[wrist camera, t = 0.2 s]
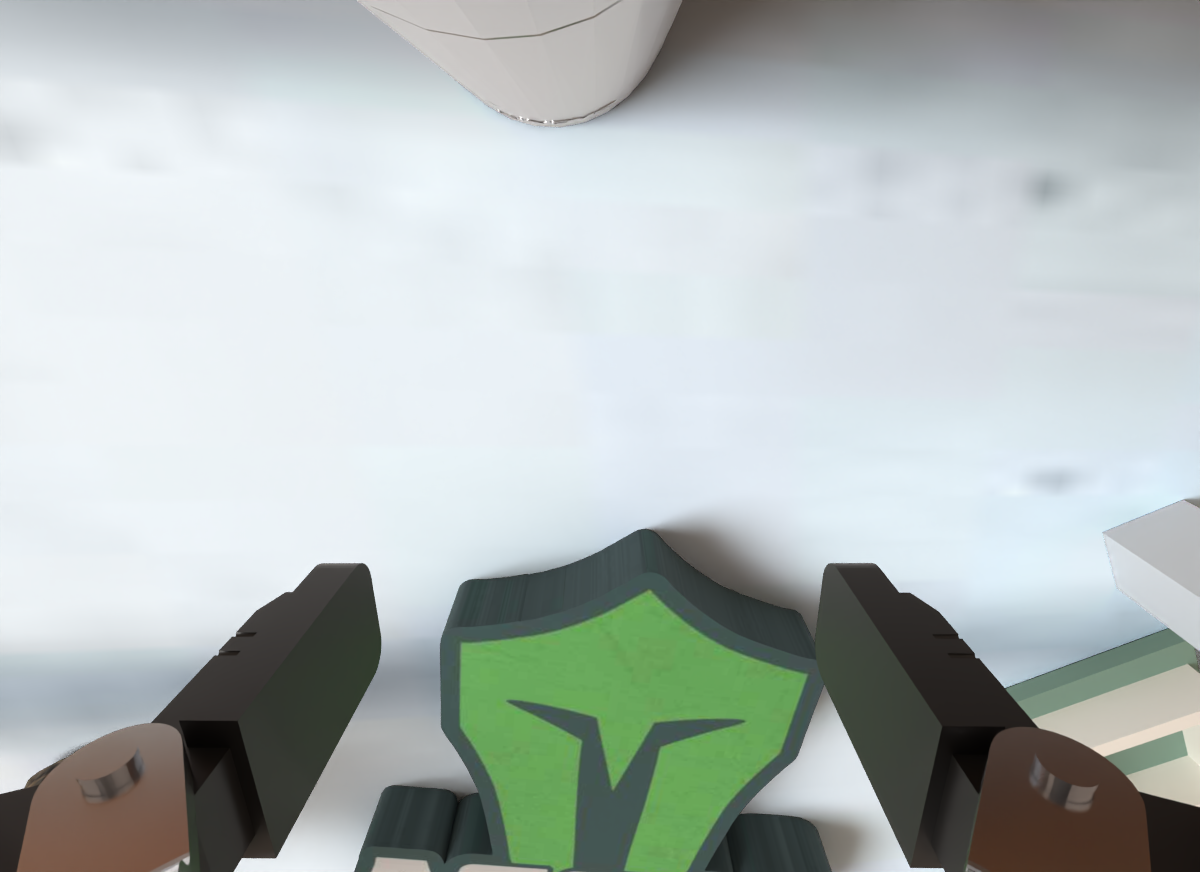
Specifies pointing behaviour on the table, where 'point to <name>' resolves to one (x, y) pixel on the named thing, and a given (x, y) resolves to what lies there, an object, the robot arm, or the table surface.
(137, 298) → the table surface
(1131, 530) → the grey tall block
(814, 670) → the emblem
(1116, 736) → the board
